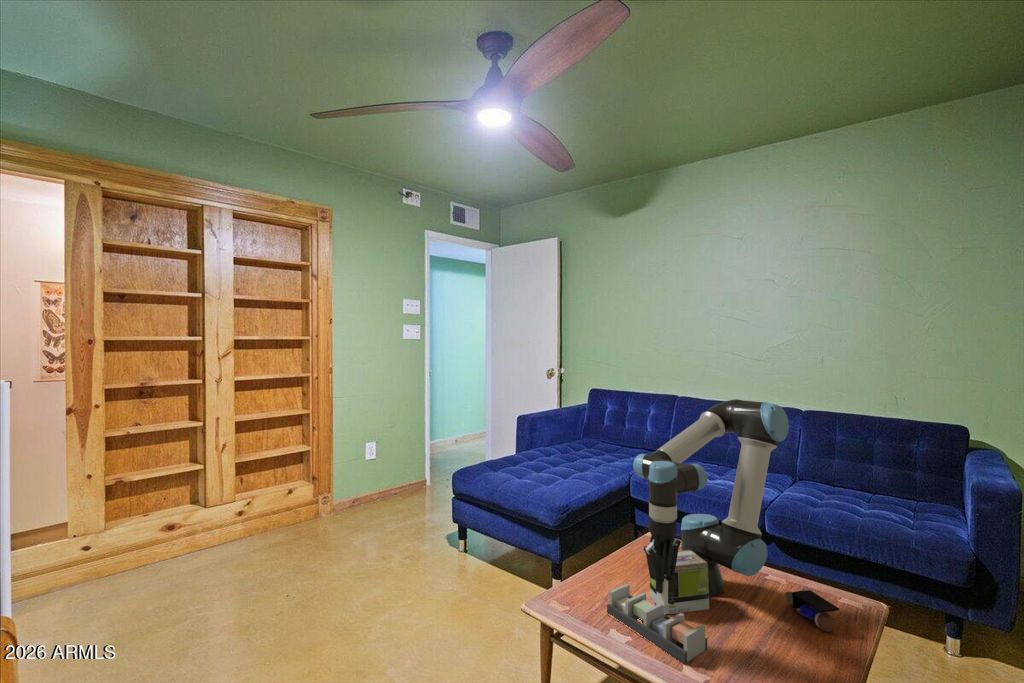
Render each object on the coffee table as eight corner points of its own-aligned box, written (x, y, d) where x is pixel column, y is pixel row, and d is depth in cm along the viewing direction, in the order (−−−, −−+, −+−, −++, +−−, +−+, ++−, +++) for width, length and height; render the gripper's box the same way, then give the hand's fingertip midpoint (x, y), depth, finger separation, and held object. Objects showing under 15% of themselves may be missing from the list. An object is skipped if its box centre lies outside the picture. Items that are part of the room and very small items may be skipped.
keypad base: (629, 604, 148) (629, 582, 148) (707, 650, 126) (707, 624, 126) (606, 614, 143) (606, 592, 143) (684, 664, 121) (684, 638, 121)
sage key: (643, 609, 140) (643, 599, 140) (656, 616, 137) (656, 606, 137) (633, 614, 138) (633, 604, 138) (645, 621, 134) (645, 611, 134)
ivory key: (626, 605, 146) (626, 596, 146) (638, 612, 142) (638, 603, 142) (616, 610, 143) (616, 601, 143) (628, 617, 139) (628, 608, 139)
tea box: (691, 593, 155) (691, 548, 155) (709, 610, 145) (709, 562, 145) (649, 598, 152) (648, 552, 152) (664, 616, 142) (664, 566, 142)
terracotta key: (682, 631, 130) (682, 621, 130) (697, 640, 126) (697, 629, 126) (671, 637, 127) (671, 626, 127) (686, 646, 123) (686, 635, 123)
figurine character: (784, 612, 147) (821, 636, 132) (782, 586, 148) (819, 607, 133) (803, 610, 148) (843, 634, 133) (801, 585, 148) (840, 605, 134)
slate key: (662, 626, 135) (662, 617, 135) (675, 634, 131) (675, 624, 131) (651, 632, 132) (651, 622, 132) (665, 640, 129) (665, 630, 129)
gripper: (667, 510, 138) (667, 590, 138) (636, 518, 132) (635, 603, 131) (689, 518, 132) (688, 602, 132) (657, 527, 125) (656, 616, 125)
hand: (662, 602), depth 132 cm, fingers closed
